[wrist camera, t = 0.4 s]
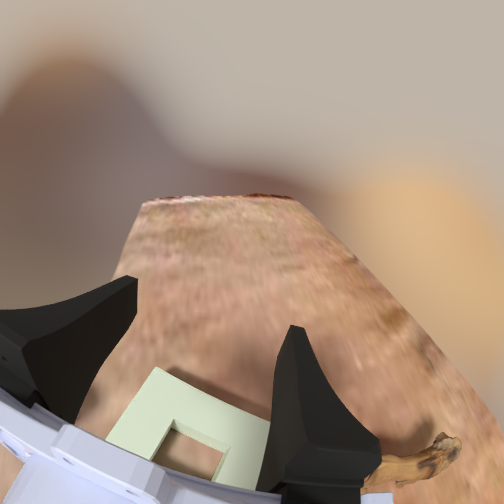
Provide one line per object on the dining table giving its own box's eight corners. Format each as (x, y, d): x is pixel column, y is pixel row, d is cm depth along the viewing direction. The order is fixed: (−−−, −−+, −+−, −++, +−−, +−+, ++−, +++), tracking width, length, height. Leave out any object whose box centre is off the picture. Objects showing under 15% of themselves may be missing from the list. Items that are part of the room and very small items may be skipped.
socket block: (227, 547, 16) (236, 550, 15) (87, 479, 17) (80, 475, 16) (272, 435, 28) (283, 426, 26) (154, 379, 29) (155, 366, 27)
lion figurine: (412, 449, 29) (461, 421, 24) (420, 482, 25) (472, 458, 20) (321, 467, 26) (371, 443, 20) (327, 509, 21) (382, 495, 16)
